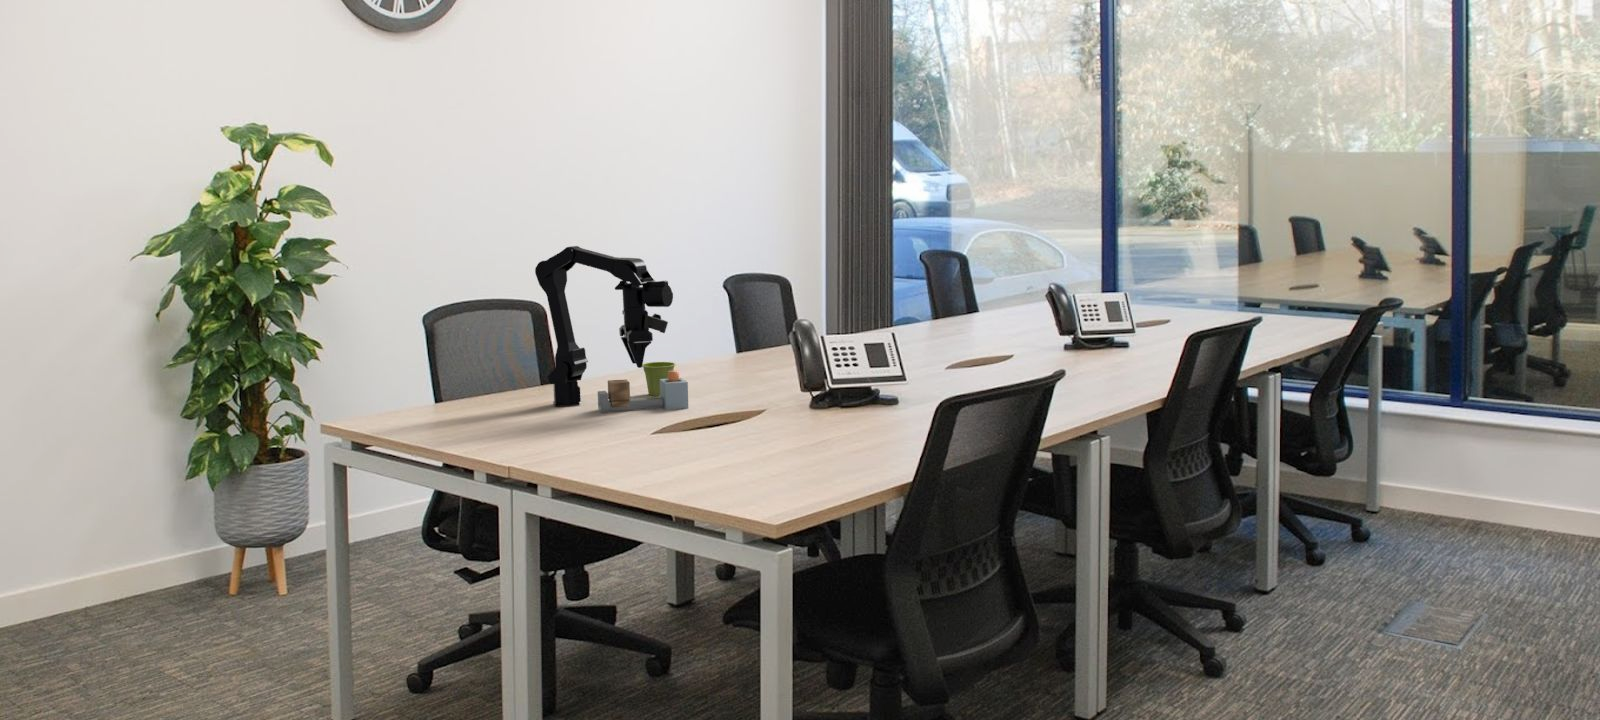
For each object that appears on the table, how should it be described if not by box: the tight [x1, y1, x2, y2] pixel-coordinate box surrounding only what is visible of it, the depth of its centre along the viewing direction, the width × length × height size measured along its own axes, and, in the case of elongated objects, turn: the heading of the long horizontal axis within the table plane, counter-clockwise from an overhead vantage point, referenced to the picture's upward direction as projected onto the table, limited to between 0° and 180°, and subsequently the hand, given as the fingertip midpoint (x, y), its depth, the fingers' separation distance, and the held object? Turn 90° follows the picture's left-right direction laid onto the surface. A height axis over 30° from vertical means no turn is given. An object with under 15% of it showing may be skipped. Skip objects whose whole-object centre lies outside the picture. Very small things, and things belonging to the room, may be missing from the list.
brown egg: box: [668, 370, 680, 382], centre depth 366 cm, size 3×3×4 cm
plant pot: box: [642, 361, 676, 397], centre depth 387 cm, size 9×9×9 cm
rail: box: [597, 390, 665, 414], centre depth 364 cm, size 18×5×5 cm, turn 106°
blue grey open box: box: [659, 377, 689, 411], centre depth 367 cm, size 6×8×7 cm
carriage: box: [607, 378, 631, 408], centre depth 363 cm, size 5×5×6 cm
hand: (637, 365), depth 363 cm, fingers open, 9 cm apart
